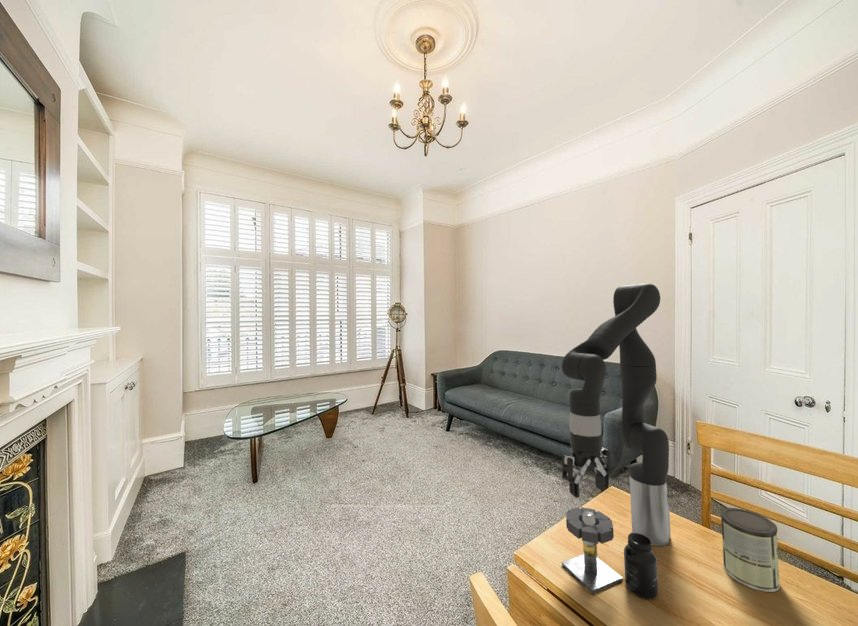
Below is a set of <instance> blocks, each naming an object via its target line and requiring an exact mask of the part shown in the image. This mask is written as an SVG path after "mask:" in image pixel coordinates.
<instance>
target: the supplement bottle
mask: <svg viewBox="0 0 858 626" xmlns="http://www.w3.org/2000/svg"><path fill="white" fill-rule="evenodd" d="M653 551H654V550H653V549H652V545H651V541H650V539H649V538H647V537H646V536H644V535H642V534H638V533H632V532H631V533H629V534H628V535H627V544H626V545H625V546H624V548H623V561H624V563H623V564H624V565H623V566H624V583H625V585H626V587H627V588H628V590H629V591H630V592H631V593H632V594H634V595H635V596H637V597H639V598H641V599H646V600H654V599H656V598H657V597H658V595H659V577H658V559H657V556H656V554H655V553H654V552H653Z"/></svg>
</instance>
